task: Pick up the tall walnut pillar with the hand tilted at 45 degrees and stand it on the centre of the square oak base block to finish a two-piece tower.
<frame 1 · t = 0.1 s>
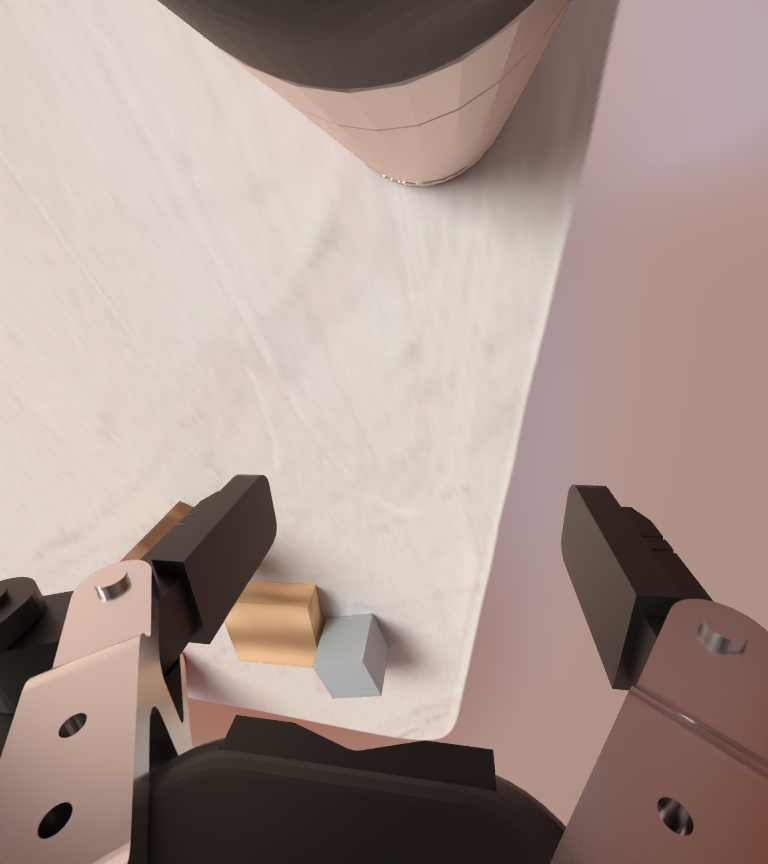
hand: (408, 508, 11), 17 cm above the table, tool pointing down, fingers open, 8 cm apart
walnut pillar: (197, 528, 37), on the table
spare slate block: (358, 631, 40), on the table
oak base: (282, 609, 41), on the table
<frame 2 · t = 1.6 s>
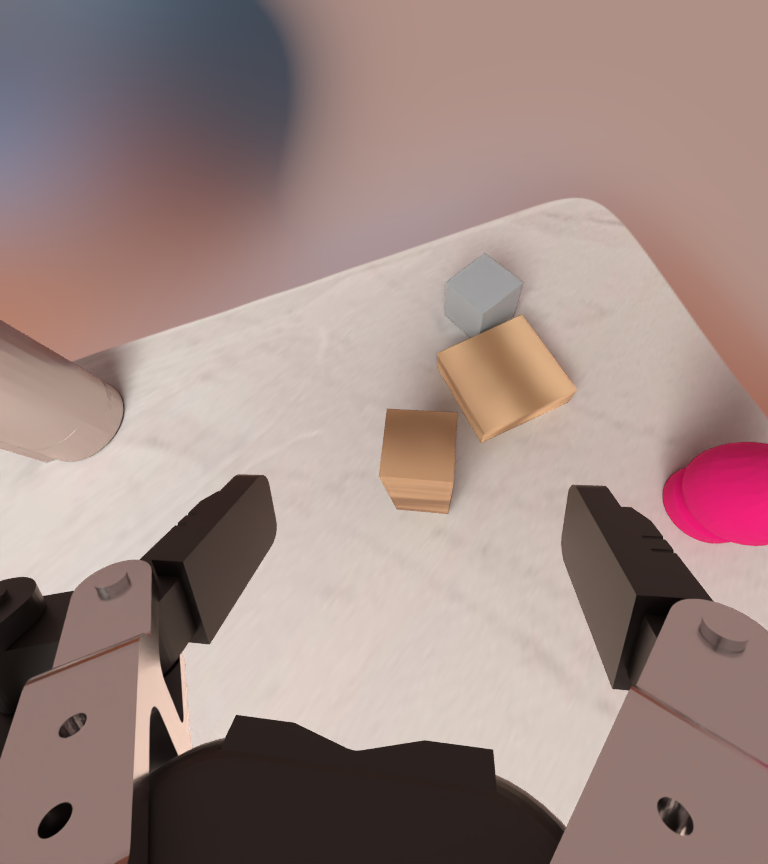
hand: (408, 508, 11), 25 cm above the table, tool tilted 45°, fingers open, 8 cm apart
walnut pillar: (424, 486, 36), on the table
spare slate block: (478, 315, 41), on the table
oak base: (499, 385, 39), on the table
pepper mill: (702, 504, 32), on the table
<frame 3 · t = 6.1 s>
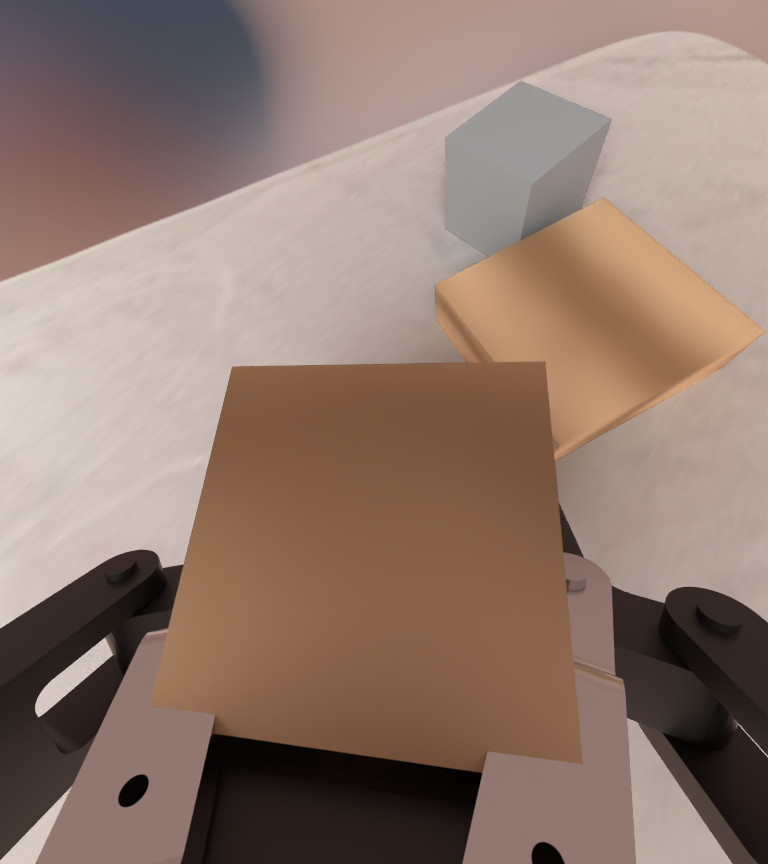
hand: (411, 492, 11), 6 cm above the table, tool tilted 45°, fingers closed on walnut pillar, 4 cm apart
walnut pillar: (421, 572, 16), on the table, touching gripper
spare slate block: (509, 225, 22), on the table
oak base: (564, 347, 19), on the table
when the fingers open (9 cm above the table, at t = 11.1 s): walnut pillar drops 1 cm, resting on oak base.
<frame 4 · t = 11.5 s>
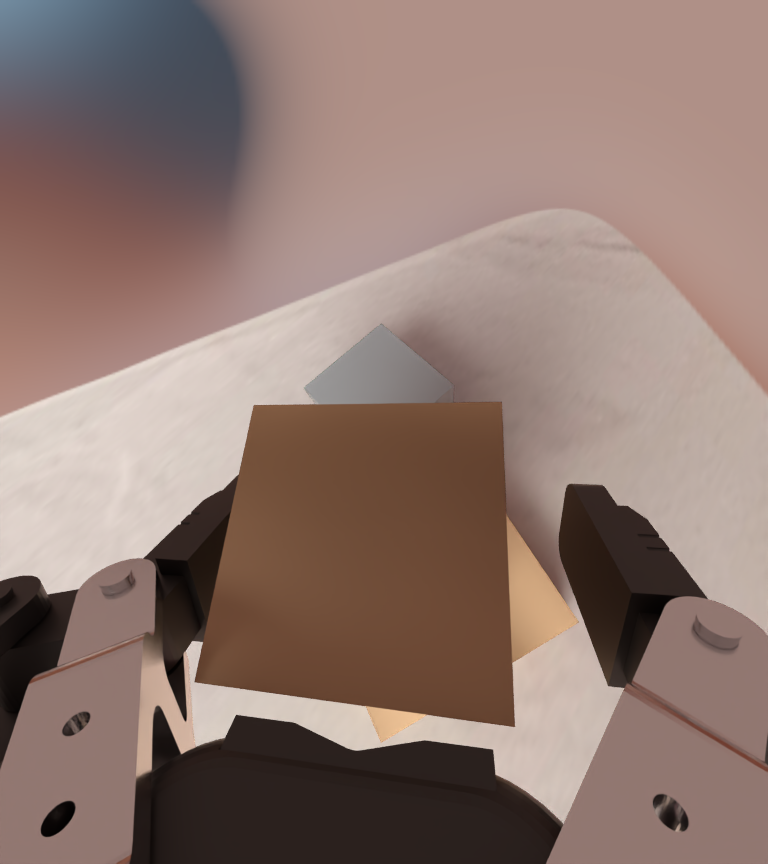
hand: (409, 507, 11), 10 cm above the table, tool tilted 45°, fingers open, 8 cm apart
walnut pillar: (424, 571, 17), point 3 cm above the table, touching oak base
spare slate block: (390, 427, 23), on the table
oak base: (426, 576, 20), on the table, touching walnut pillar
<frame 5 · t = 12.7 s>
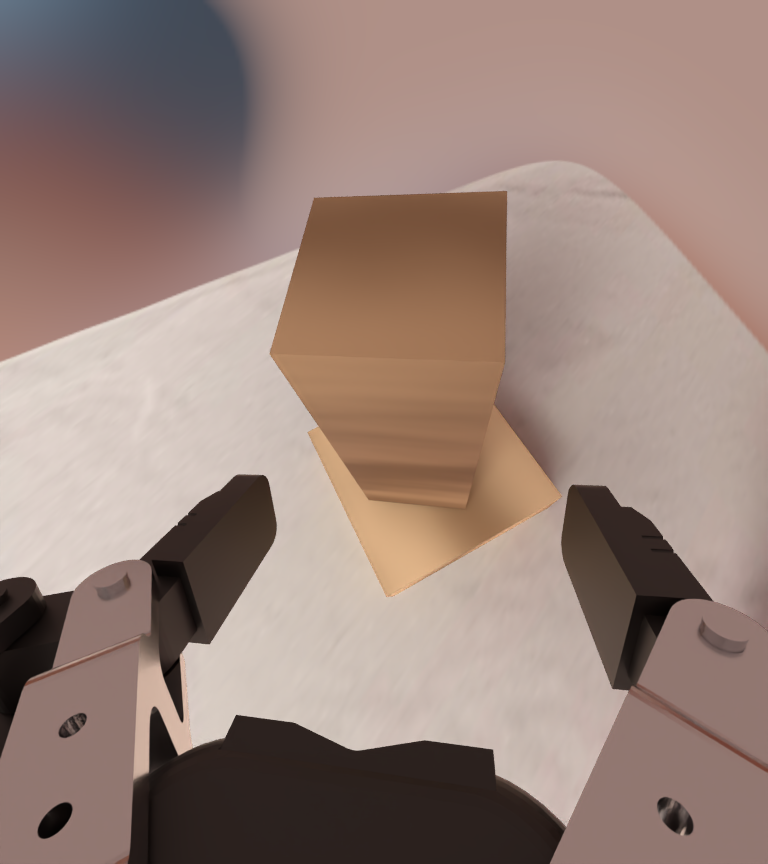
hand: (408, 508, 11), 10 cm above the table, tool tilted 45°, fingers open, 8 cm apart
walnut pillar: (420, 459, 19), point 3 cm above the table
oak base: (427, 478, 22), on the table
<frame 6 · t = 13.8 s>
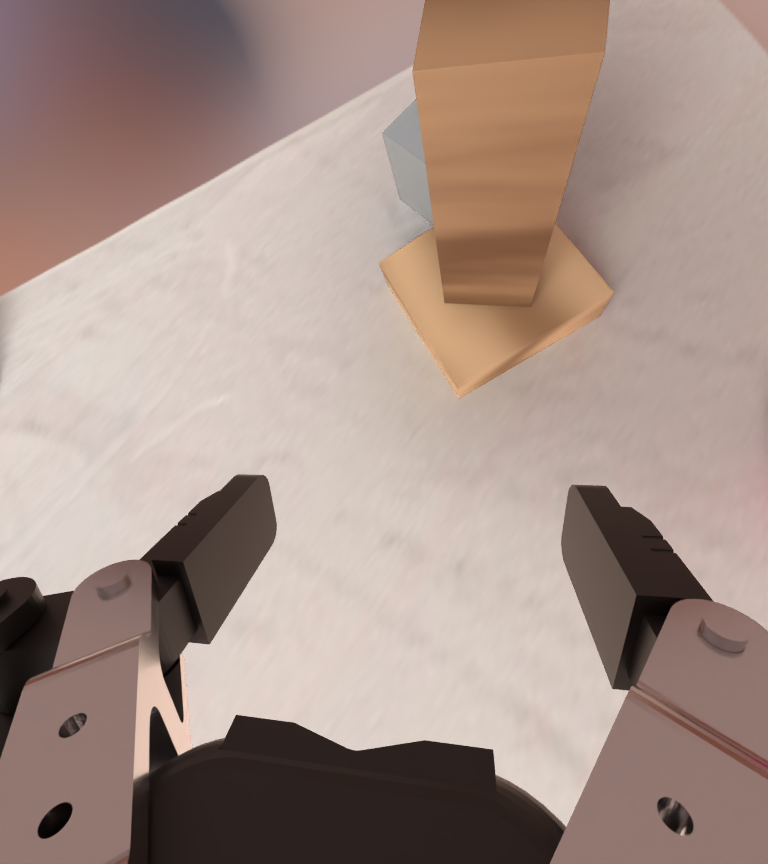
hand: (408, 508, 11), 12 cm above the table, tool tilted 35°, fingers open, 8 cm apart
walnut pillar: (491, 266, 21), point 3 cm above the table
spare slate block: (452, 192, 26), on the table
oak base: (486, 303, 24), on the table
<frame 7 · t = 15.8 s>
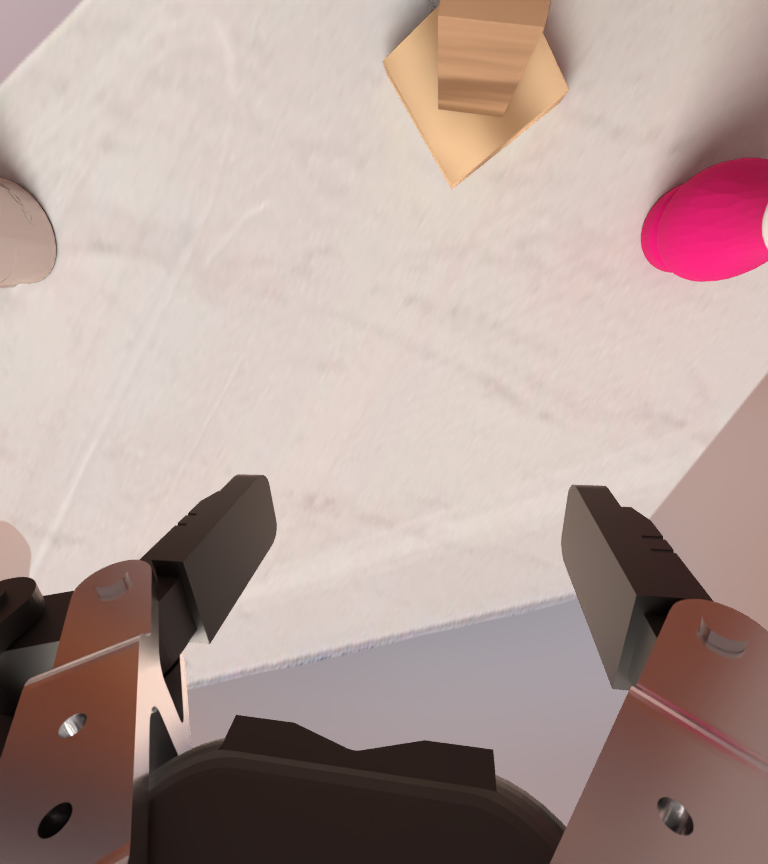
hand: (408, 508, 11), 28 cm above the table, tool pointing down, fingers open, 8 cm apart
walnut pillar: (477, 71, 26), point 3 cm above the table
oak base: (471, 92, 29), on the table
pepper mill: (683, 228, 30), on the table
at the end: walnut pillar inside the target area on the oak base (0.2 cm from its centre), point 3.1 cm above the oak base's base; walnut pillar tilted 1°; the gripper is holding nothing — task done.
